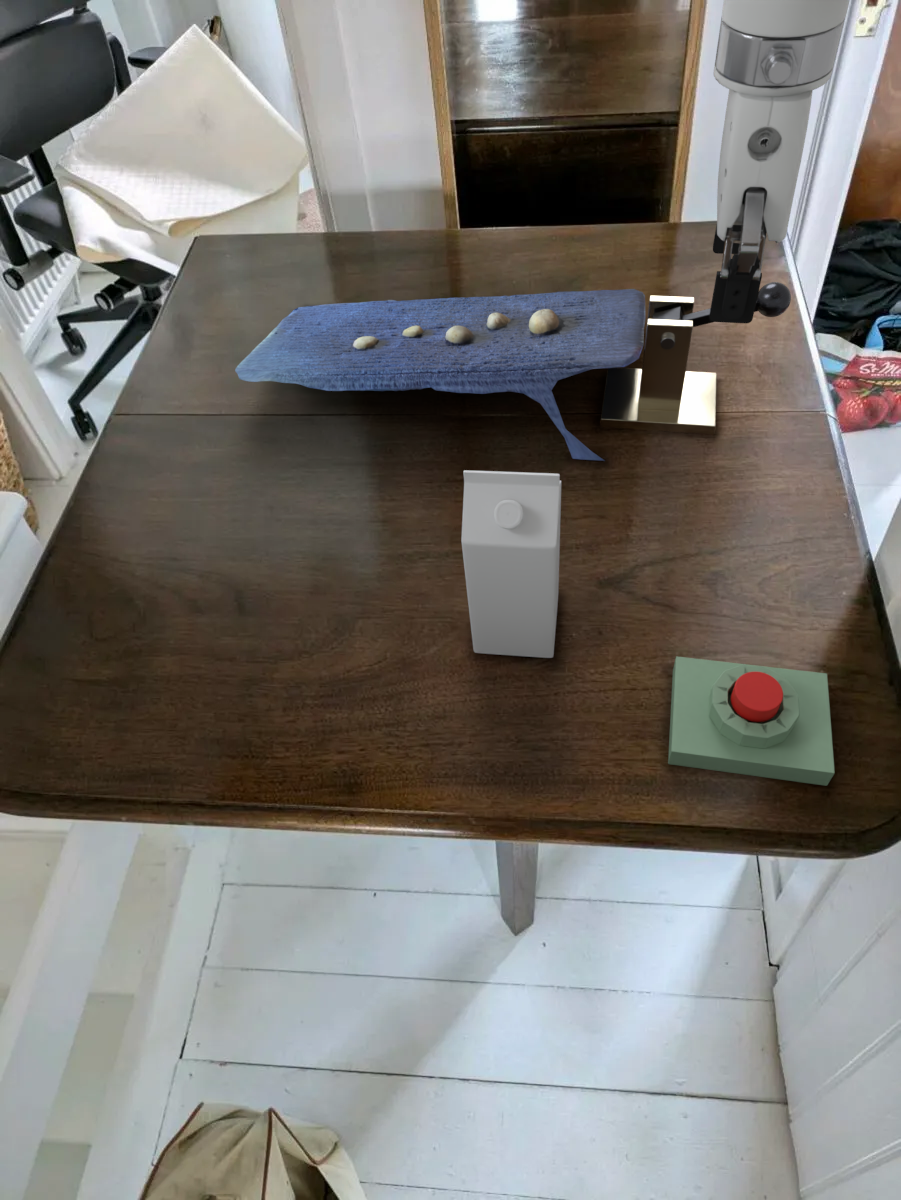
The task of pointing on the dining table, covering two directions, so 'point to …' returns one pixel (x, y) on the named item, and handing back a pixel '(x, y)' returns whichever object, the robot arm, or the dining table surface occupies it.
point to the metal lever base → (662, 380)
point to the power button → (756, 696)
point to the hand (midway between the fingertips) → (730, 285)
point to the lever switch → (768, 303)
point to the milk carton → (512, 560)
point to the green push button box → (750, 724)
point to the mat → (456, 345)
